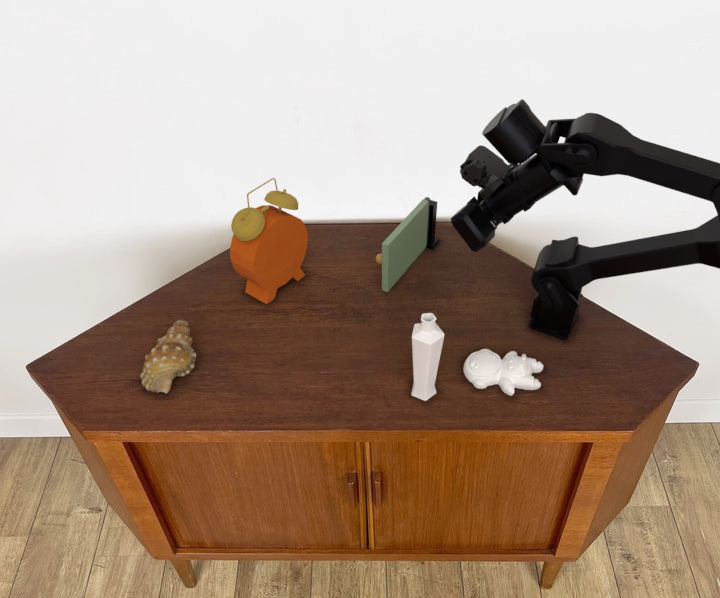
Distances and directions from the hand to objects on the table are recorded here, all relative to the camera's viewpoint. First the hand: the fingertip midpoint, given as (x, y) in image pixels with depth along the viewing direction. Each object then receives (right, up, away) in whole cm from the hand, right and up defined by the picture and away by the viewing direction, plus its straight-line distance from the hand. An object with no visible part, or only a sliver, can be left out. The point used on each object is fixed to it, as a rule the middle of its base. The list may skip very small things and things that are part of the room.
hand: (457, 229), depth 108 cm
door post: (-3, +1, +19) cm, 20 cm away
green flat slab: (-8, -4, +13) cm, 16 cm away
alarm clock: (-31, -7, +12) cm, 34 cm away
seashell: (-45, -22, -2) cm, 51 cm away
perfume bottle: (-6, -26, -6) cm, 27 cm away
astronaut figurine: (+6, -24, -4) cm, 25 cm away
